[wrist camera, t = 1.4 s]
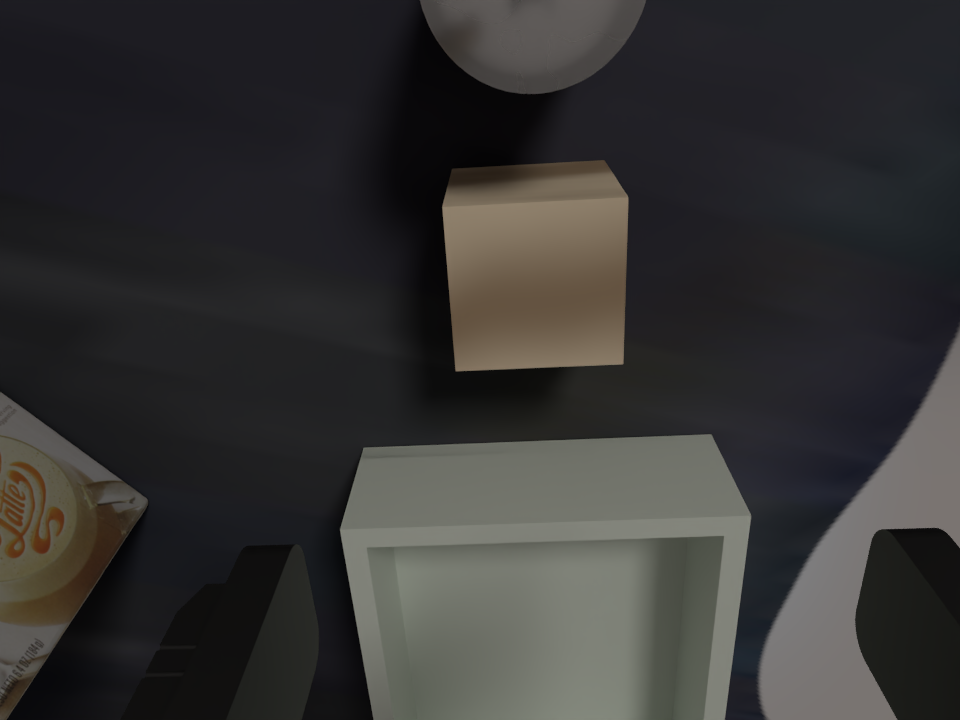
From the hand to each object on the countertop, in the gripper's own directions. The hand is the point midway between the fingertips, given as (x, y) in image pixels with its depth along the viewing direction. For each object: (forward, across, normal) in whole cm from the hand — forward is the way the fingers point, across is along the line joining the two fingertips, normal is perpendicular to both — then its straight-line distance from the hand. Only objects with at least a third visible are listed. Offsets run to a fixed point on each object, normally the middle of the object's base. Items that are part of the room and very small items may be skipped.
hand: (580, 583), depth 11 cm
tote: (+17, 0, +17) cm, 24 cm away
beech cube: (+17, 0, 0) cm, 17 cm away
